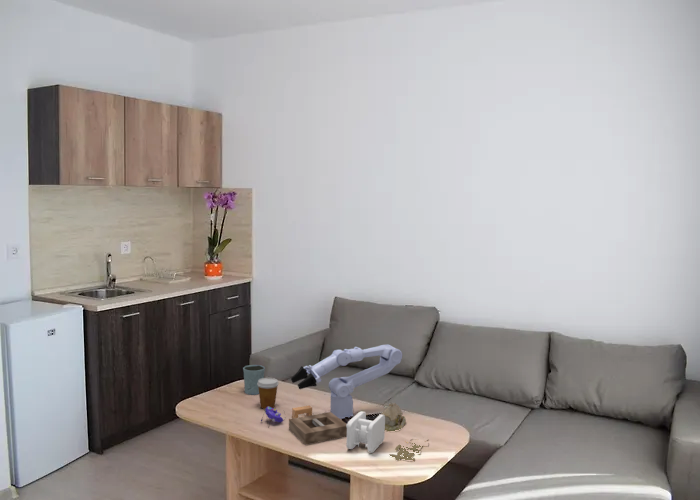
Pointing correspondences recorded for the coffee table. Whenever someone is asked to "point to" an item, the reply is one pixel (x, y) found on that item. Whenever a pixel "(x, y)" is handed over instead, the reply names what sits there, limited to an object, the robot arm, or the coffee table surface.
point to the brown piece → (318, 428)
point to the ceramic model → (393, 417)
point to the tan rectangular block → (301, 411)
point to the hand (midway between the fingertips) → (295, 383)
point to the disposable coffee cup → (267, 392)
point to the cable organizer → (365, 431)
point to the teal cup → (252, 378)
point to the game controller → (273, 414)
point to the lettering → (405, 452)
